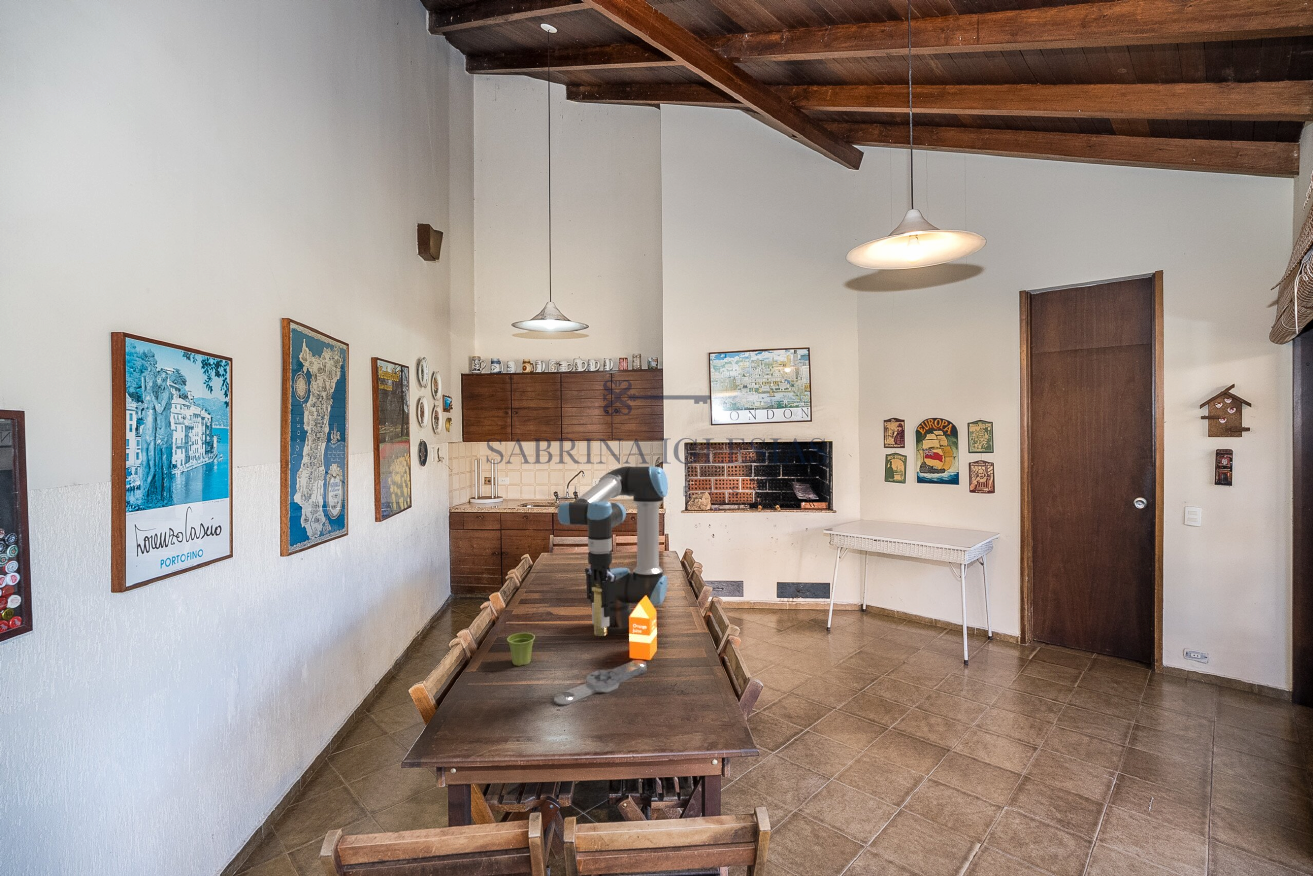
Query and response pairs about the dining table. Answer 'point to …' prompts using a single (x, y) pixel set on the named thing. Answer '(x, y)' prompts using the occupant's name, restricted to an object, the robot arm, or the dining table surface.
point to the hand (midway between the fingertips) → (600, 624)
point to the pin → (598, 612)
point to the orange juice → (643, 630)
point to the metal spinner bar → (601, 682)
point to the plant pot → (521, 647)
